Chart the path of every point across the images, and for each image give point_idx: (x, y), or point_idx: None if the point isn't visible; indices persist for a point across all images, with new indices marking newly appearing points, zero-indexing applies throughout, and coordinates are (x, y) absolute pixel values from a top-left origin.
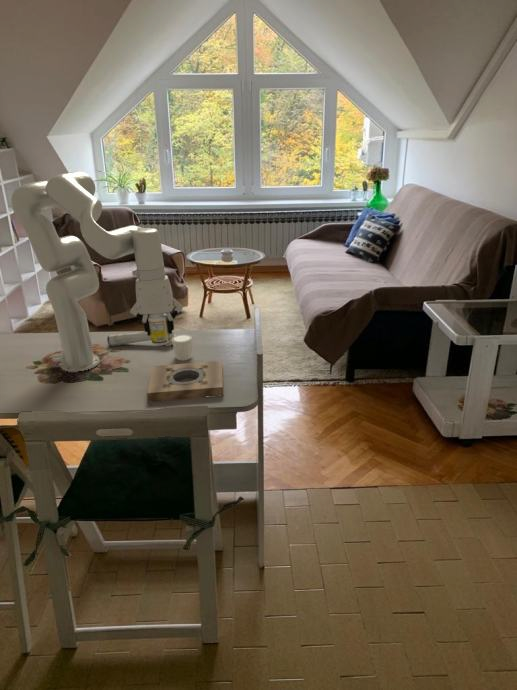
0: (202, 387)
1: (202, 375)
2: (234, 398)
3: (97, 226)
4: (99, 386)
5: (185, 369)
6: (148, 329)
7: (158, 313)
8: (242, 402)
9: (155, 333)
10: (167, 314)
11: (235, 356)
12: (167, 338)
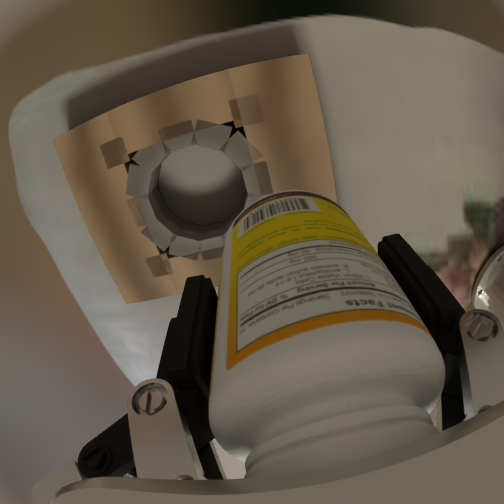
0: (108, 120)
1: (139, 205)
2: (42, 129)
3: None
4: (467, 169)
5: (218, 243)
6: (408, 268)
7: (295, 479)
8: (21, 115)
9: (326, 228)
10: (173, 457)
11: (136, 345)
12: (226, 244)
